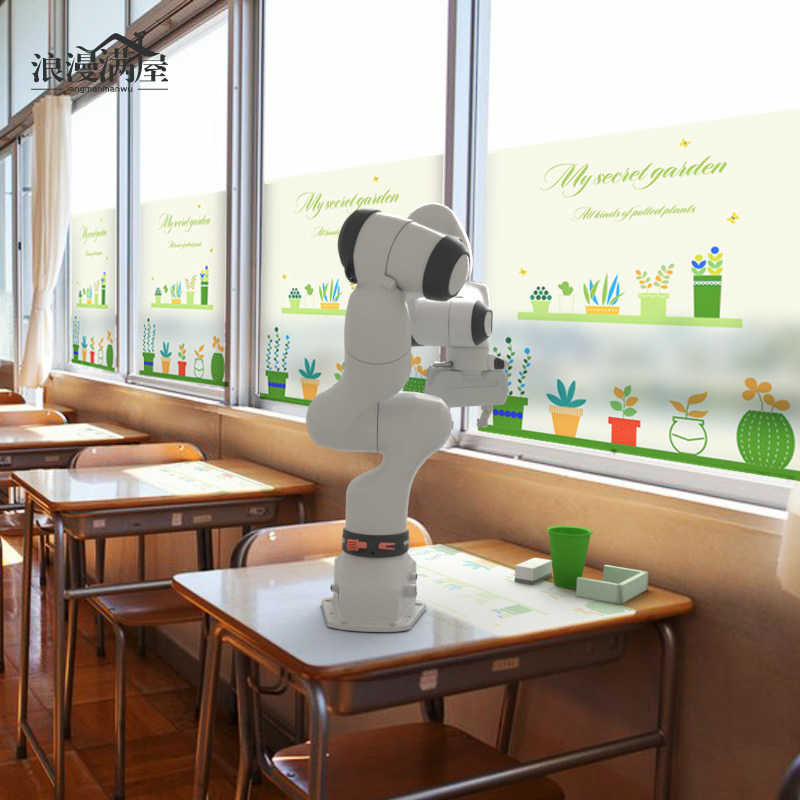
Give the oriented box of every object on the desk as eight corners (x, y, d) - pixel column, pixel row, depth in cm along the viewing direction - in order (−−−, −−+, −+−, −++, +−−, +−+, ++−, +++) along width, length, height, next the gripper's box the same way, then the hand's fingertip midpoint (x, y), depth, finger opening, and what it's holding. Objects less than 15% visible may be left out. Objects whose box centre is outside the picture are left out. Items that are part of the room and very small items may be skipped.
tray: (620, 604, 195) (621, 585, 195) (576, 596, 200) (576, 578, 199) (647, 589, 206) (648, 571, 206) (604, 581, 211) (605, 564, 211)
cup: (535, 583, 209) (537, 528, 208) (565, 576, 215) (567, 523, 214) (569, 592, 202) (571, 536, 201) (599, 586, 208) (602, 531, 207)
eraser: (532, 585, 208) (533, 568, 207) (514, 582, 210) (515, 565, 210) (551, 577, 215) (552, 560, 215) (534, 574, 217) (534, 557, 217)
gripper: (438, 363, 205) (435, 433, 206) (513, 361, 217) (511, 427, 219) (417, 361, 210) (416, 429, 211) (493, 359, 222) (490, 424, 224)
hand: (465, 428), depth 215 cm, fingers open, 8 cm apart
